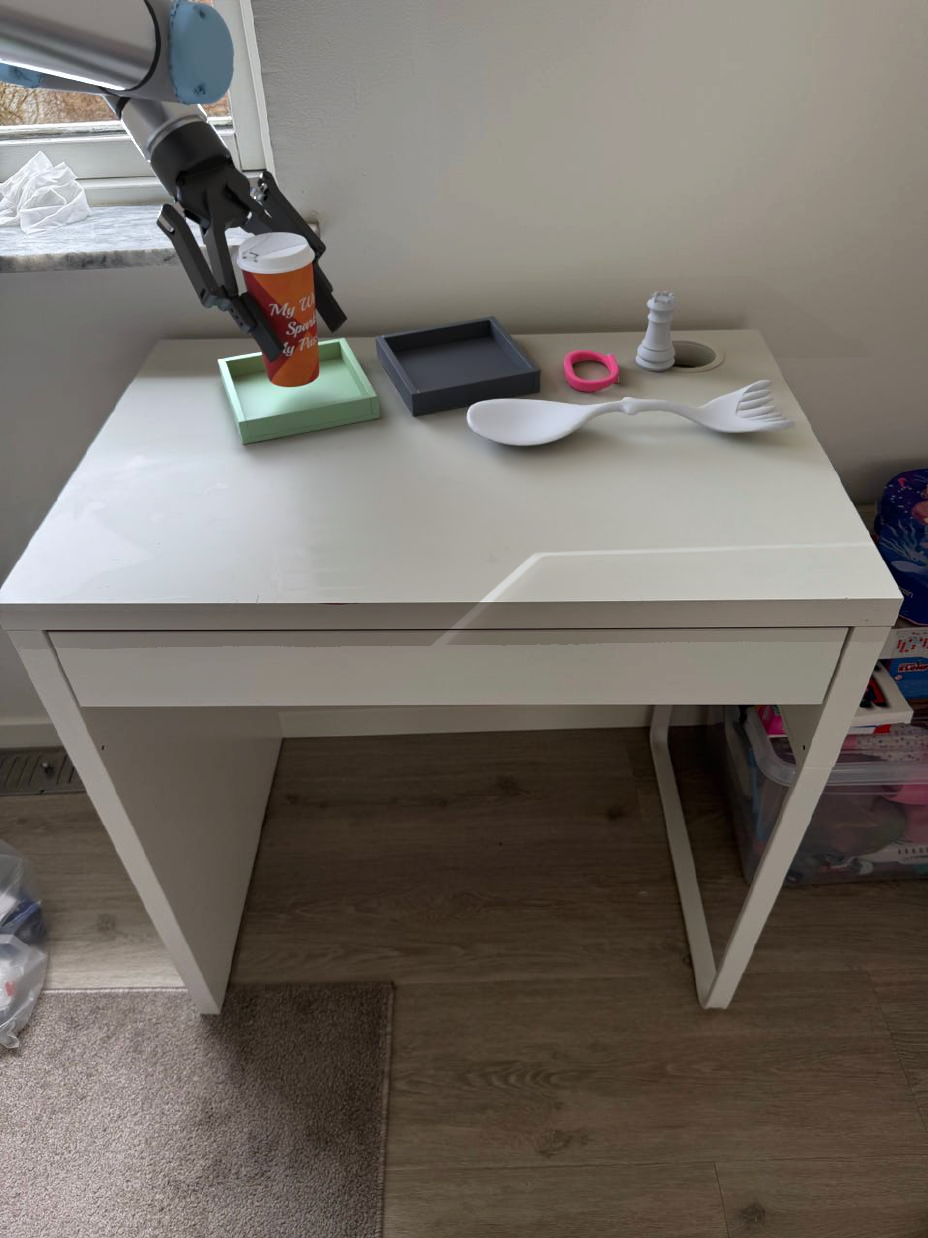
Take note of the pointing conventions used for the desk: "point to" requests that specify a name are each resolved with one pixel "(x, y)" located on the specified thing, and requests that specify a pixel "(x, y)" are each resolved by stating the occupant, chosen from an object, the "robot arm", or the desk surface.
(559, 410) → the spoon
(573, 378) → the fitness band
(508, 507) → the desk surface
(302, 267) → the paper cup
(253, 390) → the sage tray
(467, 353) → the charcoal tray
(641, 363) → the rook chess piece
